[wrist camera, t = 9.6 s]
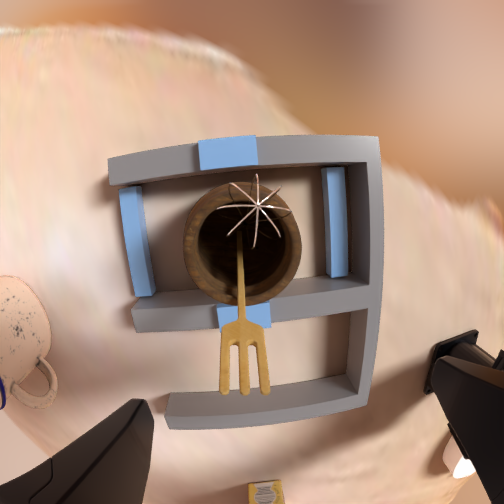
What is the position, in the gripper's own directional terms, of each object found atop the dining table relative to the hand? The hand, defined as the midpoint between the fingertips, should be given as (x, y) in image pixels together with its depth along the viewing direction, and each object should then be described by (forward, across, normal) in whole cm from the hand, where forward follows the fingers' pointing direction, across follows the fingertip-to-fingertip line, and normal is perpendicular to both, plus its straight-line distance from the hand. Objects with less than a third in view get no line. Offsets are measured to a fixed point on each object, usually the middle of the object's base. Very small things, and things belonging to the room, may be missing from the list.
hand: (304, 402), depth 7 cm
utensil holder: (+13, +1, -3) cm, 13 cm away
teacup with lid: (+13, +22, +4) cm, 25 cm away
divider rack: (+13, +2, +1) cm, 13 cm away
